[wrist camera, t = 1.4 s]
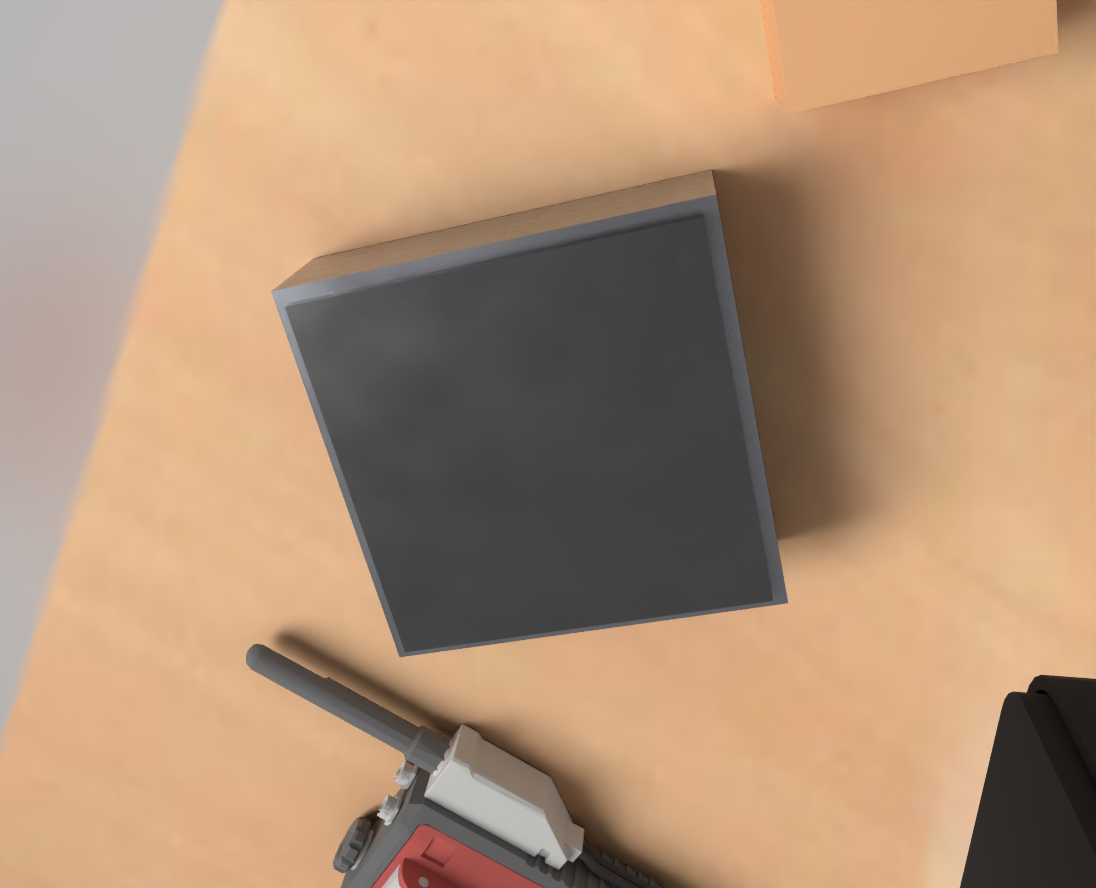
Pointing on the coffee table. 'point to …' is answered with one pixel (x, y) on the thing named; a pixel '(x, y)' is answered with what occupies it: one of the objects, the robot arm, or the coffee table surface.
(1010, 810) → the robot arm
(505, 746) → the coffee table surface
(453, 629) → the stand
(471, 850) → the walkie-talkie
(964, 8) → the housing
